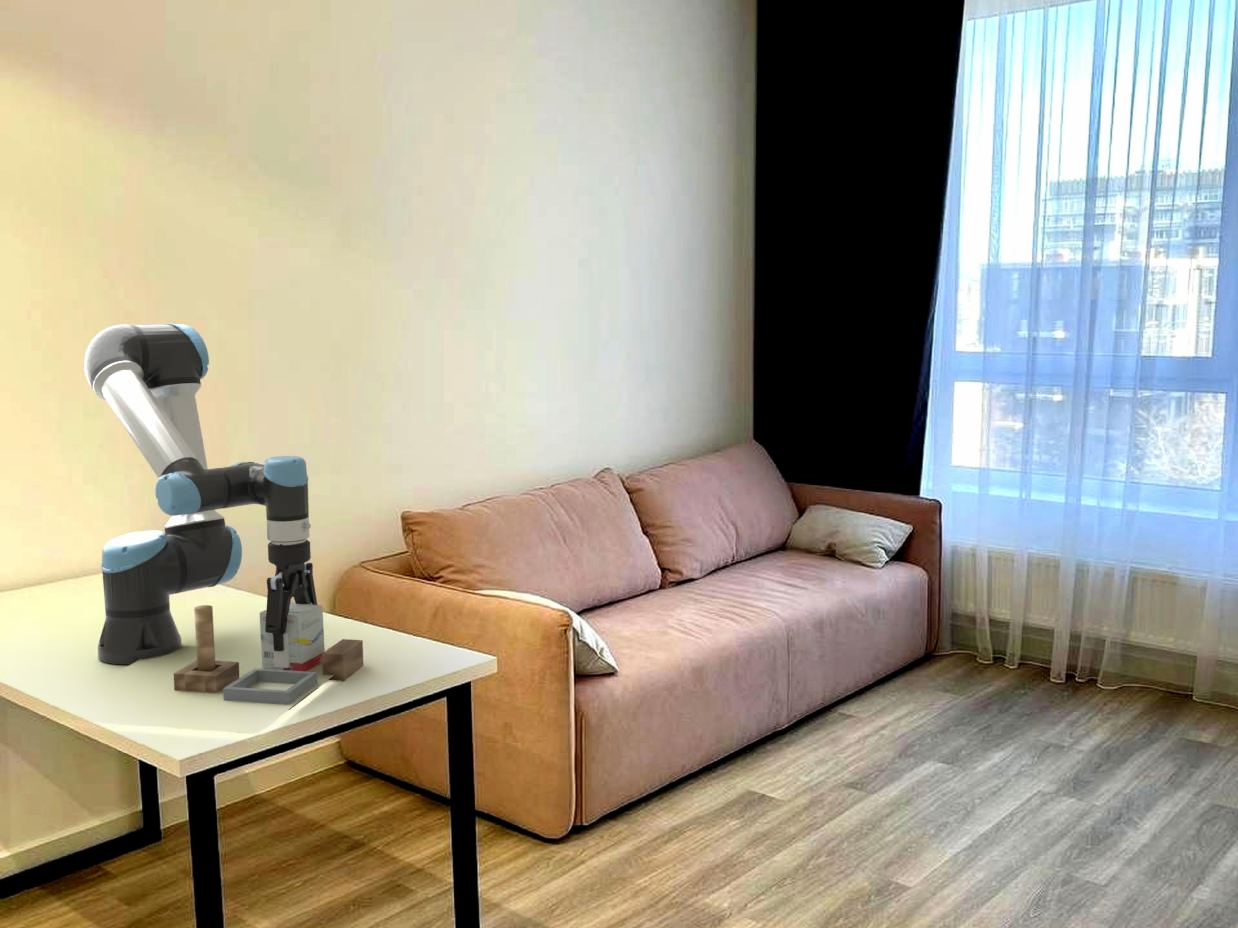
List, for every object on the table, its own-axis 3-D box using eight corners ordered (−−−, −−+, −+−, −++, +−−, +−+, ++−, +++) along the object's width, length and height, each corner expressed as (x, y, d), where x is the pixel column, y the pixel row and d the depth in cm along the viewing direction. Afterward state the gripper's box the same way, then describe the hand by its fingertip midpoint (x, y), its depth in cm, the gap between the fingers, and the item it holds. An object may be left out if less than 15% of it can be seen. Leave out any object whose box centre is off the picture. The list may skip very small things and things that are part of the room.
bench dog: (323, 679, 210) (322, 653, 209) (343, 664, 219) (342, 639, 218) (343, 681, 209) (342, 654, 209) (363, 665, 218) (362, 640, 217)
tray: (223, 705, 197) (223, 688, 196) (255, 684, 208) (254, 668, 207) (289, 709, 195) (288, 692, 194) (317, 688, 205) (317, 672, 205)
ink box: (327, 664, 218) (324, 603, 216) (300, 678, 210) (297, 615, 208) (288, 659, 221) (285, 599, 219) (260, 673, 213) (257, 611, 211)
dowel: (195, 686, 204) (190, 609, 202) (204, 680, 207) (200, 604, 204) (210, 687, 203) (206, 610, 201) (219, 681, 206) (215, 605, 204)
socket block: (174, 695, 202) (173, 673, 201) (199, 680, 210) (197, 659, 209) (216, 698, 200) (215, 676, 200) (239, 683, 208) (238, 661, 208)
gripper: (280, 553, 201) (285, 678, 204) (333, 529, 222) (337, 642, 225) (240, 552, 202) (246, 676, 205) (296, 528, 223) (301, 640, 227)
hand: (294, 658), depth 215 cm, fingers closed on ink box, 9 cm apart
